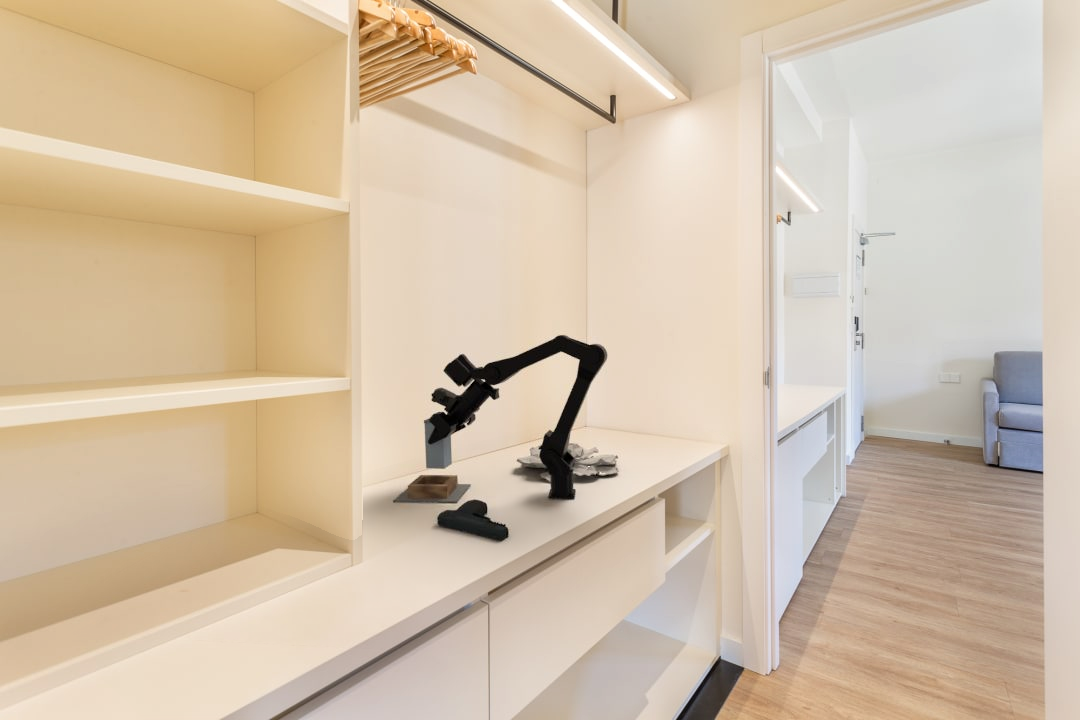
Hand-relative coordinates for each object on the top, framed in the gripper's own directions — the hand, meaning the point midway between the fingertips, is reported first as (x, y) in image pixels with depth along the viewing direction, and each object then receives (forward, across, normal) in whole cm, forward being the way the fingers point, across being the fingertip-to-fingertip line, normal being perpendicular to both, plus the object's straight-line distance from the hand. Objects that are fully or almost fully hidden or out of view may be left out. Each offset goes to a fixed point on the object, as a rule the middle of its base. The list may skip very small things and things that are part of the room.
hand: (433, 441), depth 137 cm
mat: (+8, +4, +10) cm, 13 cm away
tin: (+4, 0, +6) cm, 7 cm away
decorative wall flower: (-12, -25, +32) cm, 42 cm away
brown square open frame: (+8, +4, +10) cm, 13 cm away
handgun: (-5, +22, +24) cm, 33 cm away
